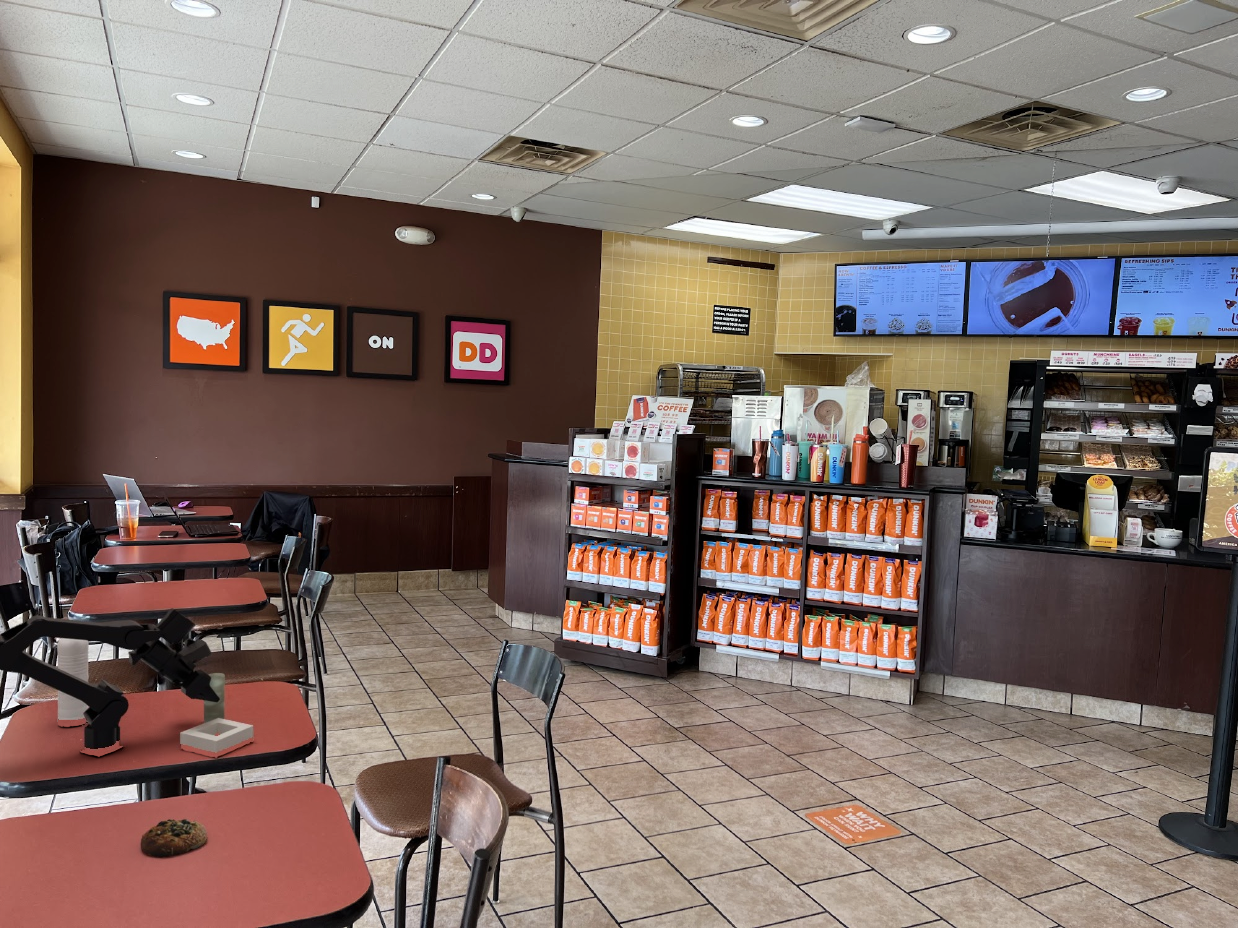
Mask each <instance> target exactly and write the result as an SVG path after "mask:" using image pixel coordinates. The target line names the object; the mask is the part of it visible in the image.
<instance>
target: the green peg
mask: <svg viewBox="0 0 1238 928" xmlns="http://www.w3.org/2000/svg"><path fill="white" fill-rule="evenodd" d="M207 674H208V675H209V676H210V677H211V681H210V686H211V688H212V689H213V690H214V692H215V693H216V694H217V695H218V697H219V698H220V700H219V701H218V702H217V703H216V702H211V701H205V700H203V724H204V723H207V722H209V721H212V720H214V719H217V718H221V719H225V714H226V713H225V709H226V708H225V707H226V705H225V699H226V696H225V695H226V692H225V691H226V682H225V681H226V679H225V678H226V676H225V674H224V673H222V672H221V673H220V672H214V673H207Z"/></svg>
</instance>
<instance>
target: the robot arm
mask: <svg viewBox="0 0 1238 928" xmlns="http://www.w3.org/2000/svg"><path fill="white" fill-rule="evenodd" d="M196 626H197V624H195V623H194V622H193V621H192V620H190V619H189V618H188V617H187V616H185V615H184V614H182V613H180V612H179V611H178V610H176V609H175V608H173V607H172V608H170V609H169V610H168V611H167V613H166V614H165V615H164V616H163V618H161V619H160V620H159V621H158V623H156V625H155V624H153V623H139V622H137V621H135V620H132V619H126V620H124V619H123V620H122V619H121V620H111V621H105V622H96V621H87V620H86V621H85V620H75V619H68V618H67V619H66V618H56V617H46V616H42V615H34V616H31V617H29V618H28V619H27V620H25V621H23V622H21V623H19V624H17V625H14V626H13V627H10V628H8V629H6V630H5V631H3V632H2V633H0V671H3V672H8V673H13V674H14V673H15V674H20V675H23V676H25V677H28V678H29V679H32V680H34V681H37V682H39V683H41V684H43V685H44V686H45V685H46V686H48V687H50V688H52V689H54V690H56V691H58V690H59V691H61V692H63V693H65V694H68V695H70V696H72V697H74V698H76V699H79V700H81V701H82V702H84V703H85V704H86V705H88V706H89V708H88V709H87V710H86V711H85V712H84V713H83V715H84V717H85V719H86V721H87V722H88V723H87V724H86V726H84V728H83V729H84V730H83V732H84V733H83V735H84V737H83V738H84V741H83V745H84V747H86V748H90V749H98V748H105V747H109V746H112V745H114V744H115V743H116V741H119V740H120V741H121V726H120V721H121V719H122V717H124V716H125V714H127V711H128V710H129V705H130V704H129V700H128V698H126V696H125V694H124V693H125V692H124V691H123V690H122V689H121V688H120V687H119V686H118V685H117V684H116V685H114V684H111V683H109V682H107V681H106V680H104V679H103V678H101V679H100V681H99V683H92V682H89V681H88V682H86V681H84V680H82V679H80V678H78V677H76V676H73V675H71V674H69V673H67V672H65V671H63V670H61V669H58V667H56V666H54V665H52V664H50V663H48V662H46V661H44V660H41V659H39V658H37V657H34V656H33V655H31V654H30V653H28V652H27V651H26V650H27V649H28V648H29V647H30V646H32V645H33V644H34V643H35V642H36V641H38V640H39V639H41V638H42V637H44V638H45V637H46V638H54V639H61V638H65V639H77V640H88V642H91V641H92V642H100V643H103V644H107V645H110V646H113V647H115V648H120V649H123V650H127V651H128V653H127V654H128V662H129V663H130V664H131V665H132V666H135V665H136V664H138V662H139V661H142V662H143V663H144V664H146V665H147V666H149V667H150V668H151V669H153V670H154V671H156V672H157V673H158V674H160V675H161V676H162V677H163V678H164V679H166V680H167V681H168V682H170V683H171V684H173V685H174V686H176V687H177V686H178V687H180V691H181V693H182V694H184V695H186V697H187V698H189V699H191V700H200V701H204V700H205V701H211V702H216V703H217V702H218V701H219V700H220V698H219V697H218V695H217V694H216V693H215V692H214V690H213V689H212V688H211V686H210V681H211V677H210V676H209V675H208V674H209V673H207V672H205V671H204V670H202V669H195V668H197V665H196V663H198V662H200V661H201V660H203V659H205V658H208V657H209V656H211V655H212V653H213V652H212V650H211V649H210V647H209V645H208V643H207V642H206V641H205V640H203V639H196V640H195V639H193V638H191V637H189V638H187V639H185V640H184V641H183V639H184V638H186V637H187V636H188V635H189V633H191V631H192V630H193V629H194V628H195V627H196ZM161 638H162V639H163V640H164V641H166V642H167V643H169V644H170V645H173V644H174V645H177V644H180V643H181V641H183V643H184V647H182V650H180V651H179V652H178V651H177V649H172V648H171V647H170V646H168V645H167V644H166V643H164V641H162V640H160V639H161ZM194 669H195V670H194ZM84 747H83V748H84Z"/></svg>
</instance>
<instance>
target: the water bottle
mask: <svg viewBox="0 0 1238 928" xmlns="http://www.w3.org/2000/svg"><path fill="white" fill-rule="evenodd" d="M56 647H57V668H58V669H61V670H63V671H65V672H67V673H69V674H71V675H73V676H76V677H78V678H80V679H82V680H84V681H86V682H89V678H90V677H89V641H88V640H77V639H65V638H59V640H58V642H57V646H56ZM57 707H58V708H57V720H58V719H59V720H78V719H83V718H85V717H84V715H83V713H84V712H85V711H86V710H87V709H88V708H89V706H88V705H86V704H85V703H84V702H82V701H81V700H79V699H76V698H74V697H72V696H70V695H68V694H65V693H63V692H61V691H59V690H57Z"/></svg>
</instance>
